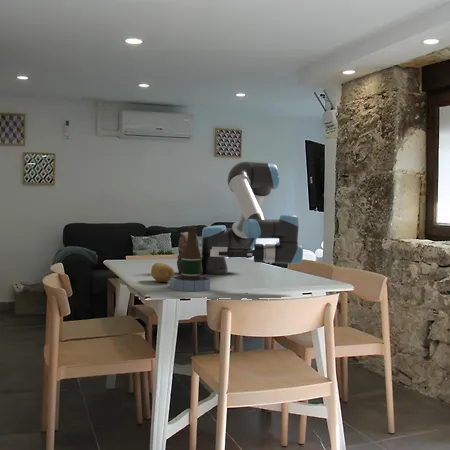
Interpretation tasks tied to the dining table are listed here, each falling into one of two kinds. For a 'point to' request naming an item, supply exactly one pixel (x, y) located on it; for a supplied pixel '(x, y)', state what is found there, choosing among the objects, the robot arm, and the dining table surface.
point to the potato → (162, 272)
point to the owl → (181, 248)
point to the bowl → (190, 284)
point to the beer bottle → (191, 258)
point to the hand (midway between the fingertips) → (211, 251)
